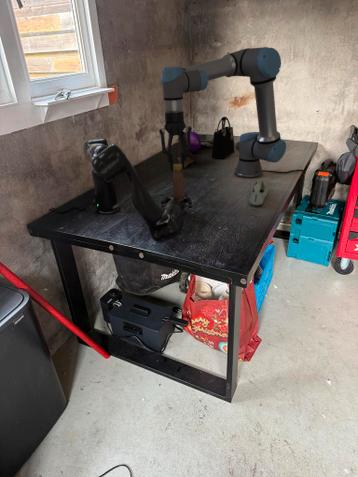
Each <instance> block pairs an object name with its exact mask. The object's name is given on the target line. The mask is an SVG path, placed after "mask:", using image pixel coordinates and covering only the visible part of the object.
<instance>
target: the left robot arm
mask: <svg viewBox="0 0 358 477" xmlns="http://www.w3.org/2000/svg"><path fill="white" fill-rule="evenodd" d="M82 148H83V149H82V150H83V155H84V157H85V159H86V160H87V162H89V163H90V164H91V167H92V170H91V177H92V183H93V187H94V192H93V197H94V198H93V200H91V202H89V203H86V204H84V206H83V207H80V206H77V205H74V206H71V207H69V208H67V209H65V210H59V209H56V208H55V207H50V208H49V211H52V210H53V211H55V212H57V213H60V214H61V213H62V214H63V213H67V212H69V211H70V210H73V209H78V210H80V211H83V210H85V209H86V208H87V207H88V206H89V205H92V207H95V208H96V212H97V213H99V214H101V215H102V214H103V215H109V214H114V213H116V212H118V211H119V209H120V208H119V203H118V197H117V192H116V185H115V184H116V183H115V180H116V179H118V178H119V177H120V176H122V175H124V173H126V175H127V177H128V179H129V182H130V188H131V199H132V204H133V207H134V209H135V212H137V213H138V215H139V216H140V217H141V219H142V220H143V221H144V222H145V224H146V226H147V229H148V231H149V234H150V236H151V240H153V241H154V242H155V243H157V244H162V243H166V242H167V241H170V240H173V239H175V238H177V236H179V235H180V227H179V222H180V220H181V218H182V217H183V214H184V213H183V210H184V208H185V209H186V208H189V209H192V208H193V202H192V198H191V197H189V196H188V194H187V193H184V198H181V199H180V200H174V193H173V194H171V196H169V197H168V196H166V197H165V198H164V199H162V200H161V201H160V207H161V208H164V209H163V211H162V209H161V208H160V207H159V205H158V204H157V203H156V201H155V200H154V199H153V197H152V196H151V195H150V193H149V191H148V189H147V187H146V186H145V184H144V182H143V181H142V179H141V177H140V175H139V174H138V172H137V171H136V169H135V167H134V165H133V164H132V162H131V160H130V159H129V157H128V156H127V154H126V153H125V152H124V151H123V149H121V147H120V146H118V145H117V144H115V143H112V144H109V141H108V140H107V139H106V138H104V137H103V138H93V139H87V140H85V141H84V143H83V147H82ZM51 208H52V209H51ZM182 213H183V214H182ZM158 222H159V223H158Z"/></svg>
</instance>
